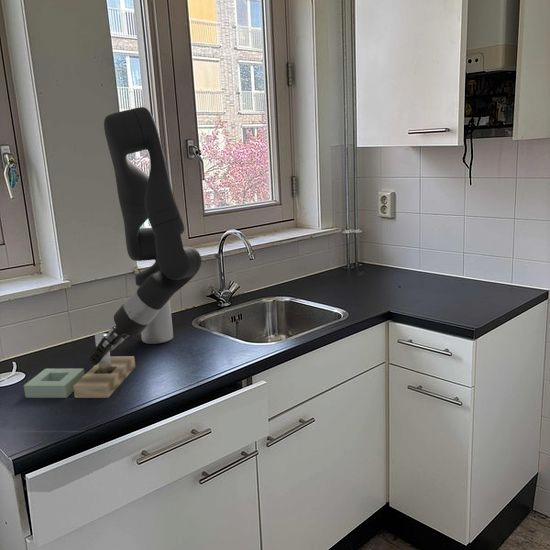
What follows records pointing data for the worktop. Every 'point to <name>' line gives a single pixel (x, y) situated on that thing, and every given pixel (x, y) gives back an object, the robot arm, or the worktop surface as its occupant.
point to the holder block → (53, 383)
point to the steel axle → (105, 362)
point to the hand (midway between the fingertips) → (96, 359)
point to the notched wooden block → (104, 379)
